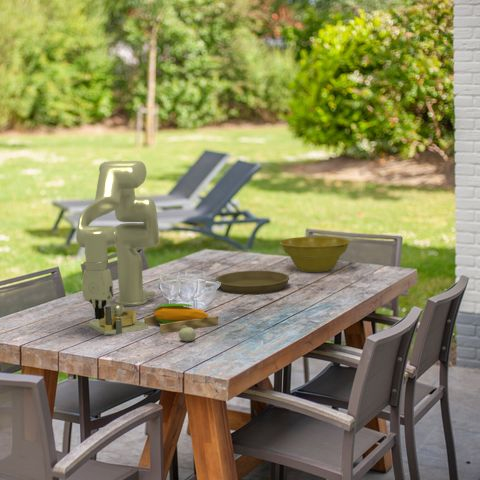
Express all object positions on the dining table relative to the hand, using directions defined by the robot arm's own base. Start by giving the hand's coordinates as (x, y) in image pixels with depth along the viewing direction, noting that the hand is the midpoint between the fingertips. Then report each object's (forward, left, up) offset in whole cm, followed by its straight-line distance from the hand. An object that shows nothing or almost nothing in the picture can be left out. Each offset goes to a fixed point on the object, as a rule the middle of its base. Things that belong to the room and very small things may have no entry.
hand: (99, 318), depth 330 cm
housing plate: (-9, -6, -6) cm, 12 cm away
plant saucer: (-83, -39, -6) cm, 91 cm away
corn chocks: (-29, +4, -6) cm, 30 cm away
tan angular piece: (-7, -3, -4) cm, 9 cm away
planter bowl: (-126, -56, -6) cm, 138 cm away
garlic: (-21, +25, -6) cm, 33 cm away
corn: (-29, +4, -5) cm, 30 cm away
